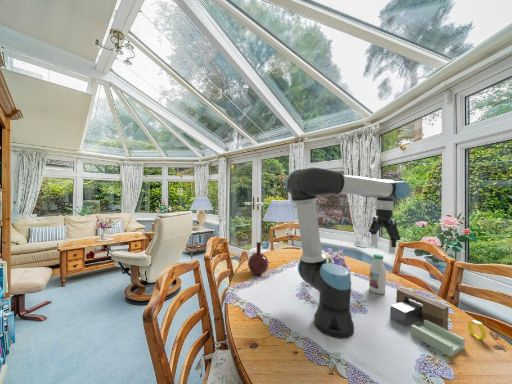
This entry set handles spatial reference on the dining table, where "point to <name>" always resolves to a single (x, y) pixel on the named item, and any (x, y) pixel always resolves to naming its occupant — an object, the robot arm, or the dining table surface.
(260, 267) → the round-bottom flask
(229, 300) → the dining table surface
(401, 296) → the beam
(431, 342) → the cradle
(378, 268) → the milk bottle
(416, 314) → the grey rectangular bar
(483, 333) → the yellow ring
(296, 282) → the dining table surface
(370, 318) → the dining table surface
